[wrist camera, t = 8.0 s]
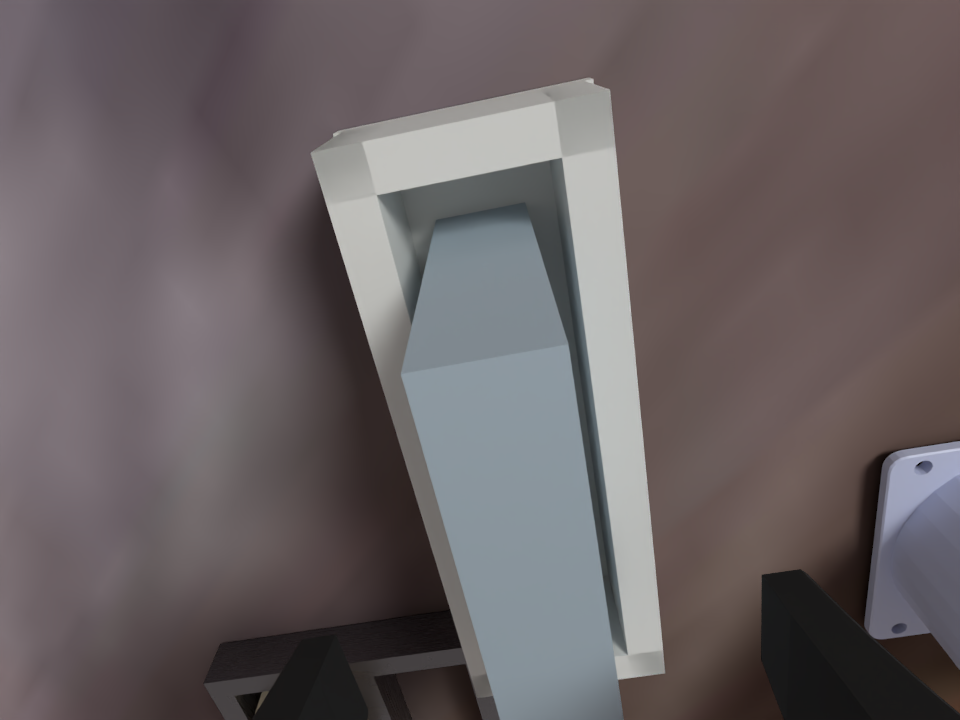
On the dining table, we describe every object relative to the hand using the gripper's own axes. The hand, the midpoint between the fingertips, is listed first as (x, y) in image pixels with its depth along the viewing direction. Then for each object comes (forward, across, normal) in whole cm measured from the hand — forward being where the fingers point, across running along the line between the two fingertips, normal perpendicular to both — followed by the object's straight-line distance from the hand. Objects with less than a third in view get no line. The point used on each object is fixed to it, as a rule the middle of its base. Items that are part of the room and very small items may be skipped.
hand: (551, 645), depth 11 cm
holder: (+8, 0, 0) cm, 9 cm away
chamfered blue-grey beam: (+8, 0, 0) cm, 8 cm away
